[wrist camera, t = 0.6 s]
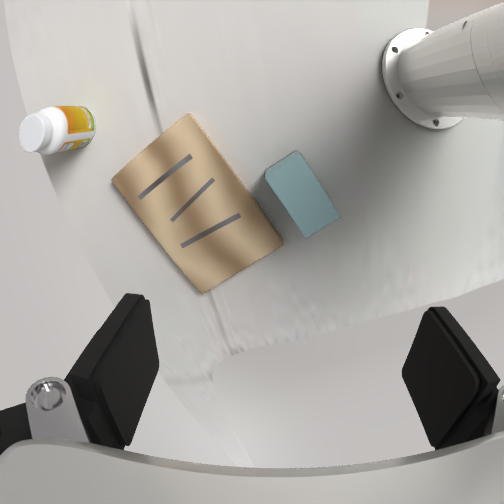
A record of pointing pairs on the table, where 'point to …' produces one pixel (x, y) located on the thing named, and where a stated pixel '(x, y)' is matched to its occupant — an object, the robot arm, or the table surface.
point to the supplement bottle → (57, 129)
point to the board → (196, 205)
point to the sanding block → (301, 193)
